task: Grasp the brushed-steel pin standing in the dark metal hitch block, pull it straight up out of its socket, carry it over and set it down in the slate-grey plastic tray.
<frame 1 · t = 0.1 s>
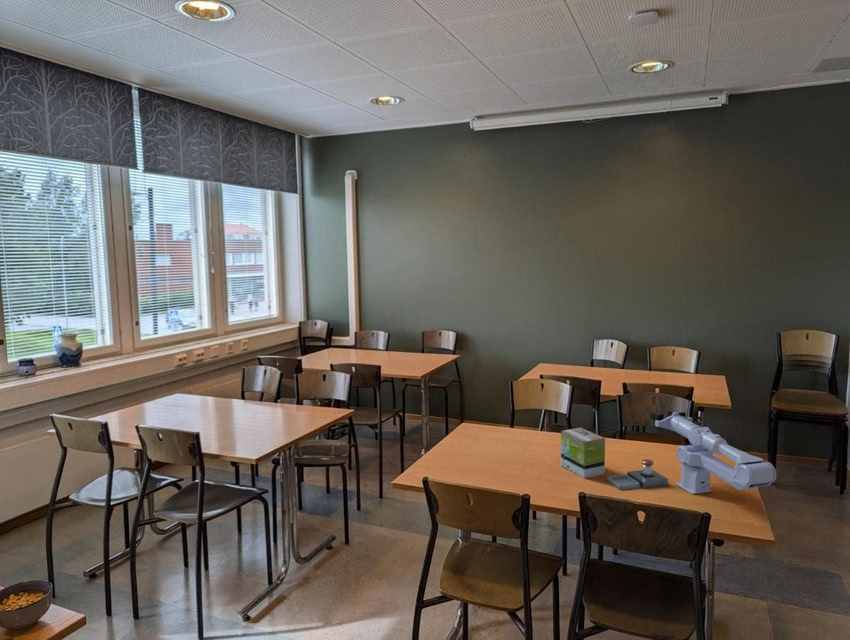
hand: (659, 414, 225), 22 cm above the table, tool horizontal, fingers open, 7 cm apart
pin: (647, 471, 214), in the hitch block
tray: (623, 484, 213), on the table
tea box: (582, 470, 227), on the table
hitch block: (647, 481, 215), on the table
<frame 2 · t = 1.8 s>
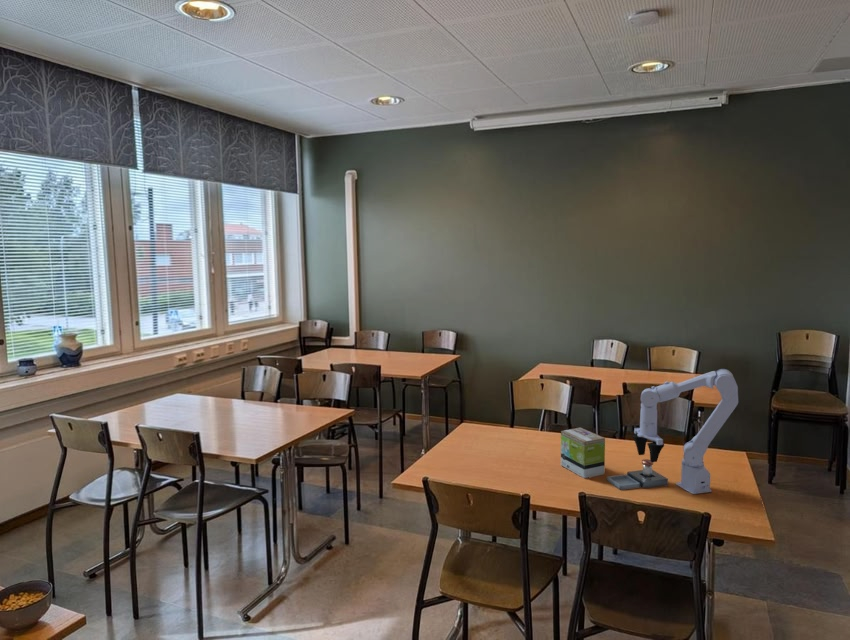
hand: (647, 458, 214), 9 cm above the table, tool pointing down, fingers open, 7 cm apart
nothing on the table moved.
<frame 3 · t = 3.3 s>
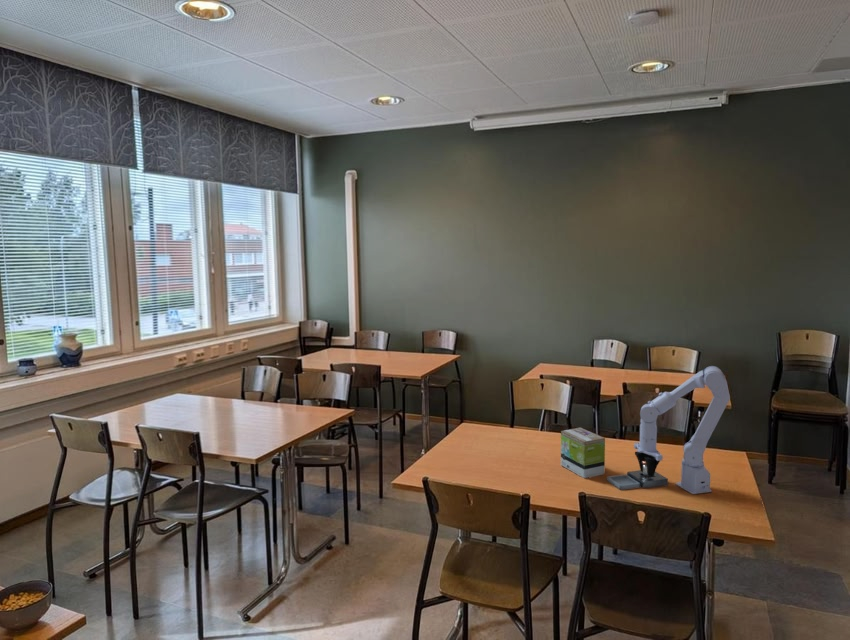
hand: (647, 473, 214), 3 cm above the table, tool pointing down, fingers closed on pin, 4 cm apart
pin: (647, 471, 214), in the hitch block, touching gripper
everything else where it was.
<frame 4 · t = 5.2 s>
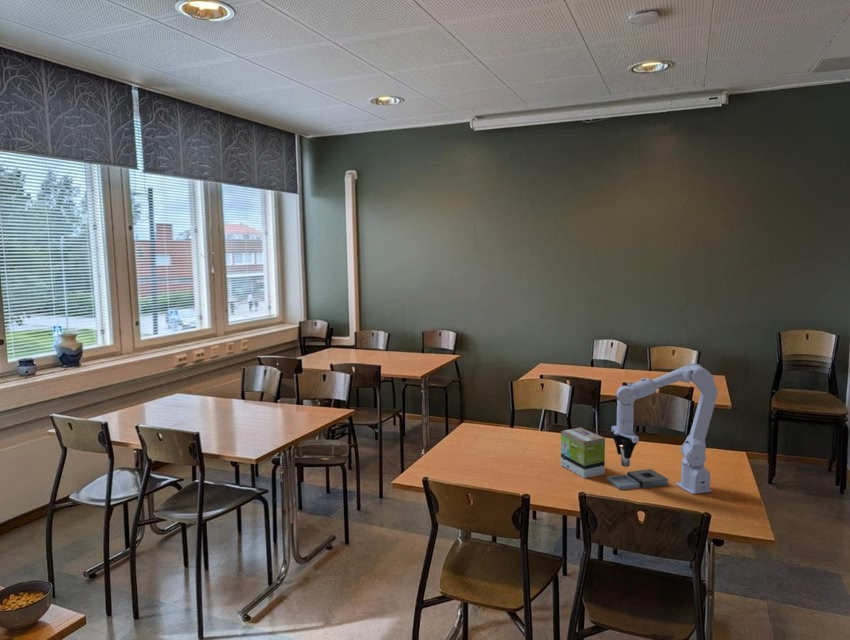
hand: (624, 456, 212), 10 cm above the table, tool pointing down, fingers closed on pin, 4 cm apart
pin: (625, 454, 212), point 11 cm above the table, tilted 5°, touching gripper
everything else where it was.
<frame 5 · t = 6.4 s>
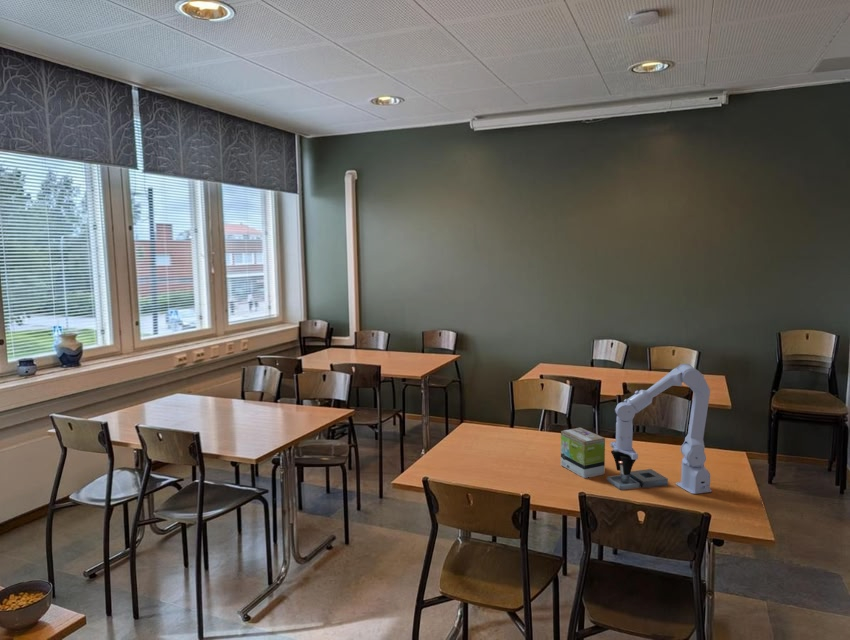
hand: (623, 472, 213), 4 cm above the table, tool pointing down, fingers closed on pin, 4 cm apart
pin: (624, 471, 213), point 5 cm above the table, tilted 5°, touching gripper
everything else where it was.
when the fingers open (4 cm above the table, at t = 7.2 s): pin stays where it is, resting on tray.
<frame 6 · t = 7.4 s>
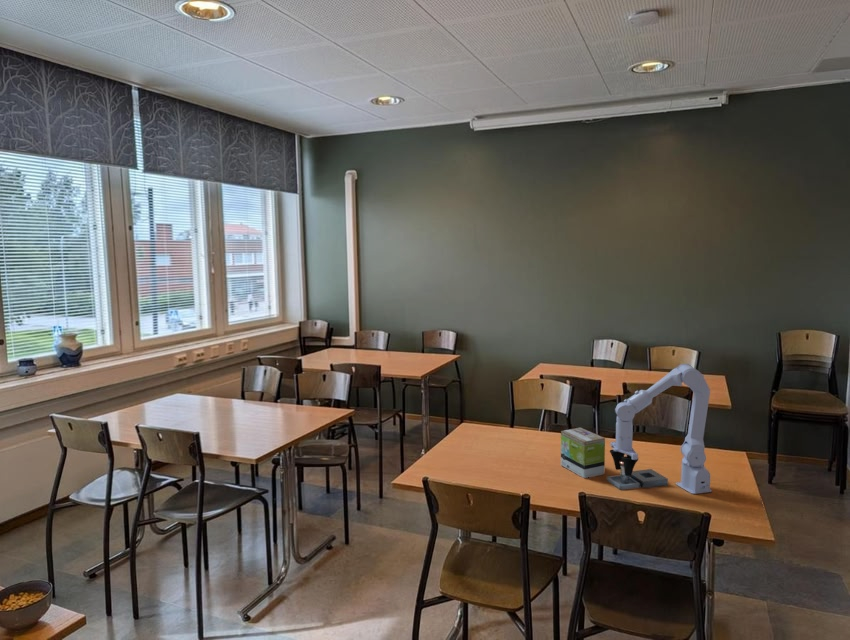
hand: (623, 472, 213), 4 cm above the table, tool pointing down, fingers open, 6 cm apart
pin: (624, 471, 213), in the tray
everything else where it was.
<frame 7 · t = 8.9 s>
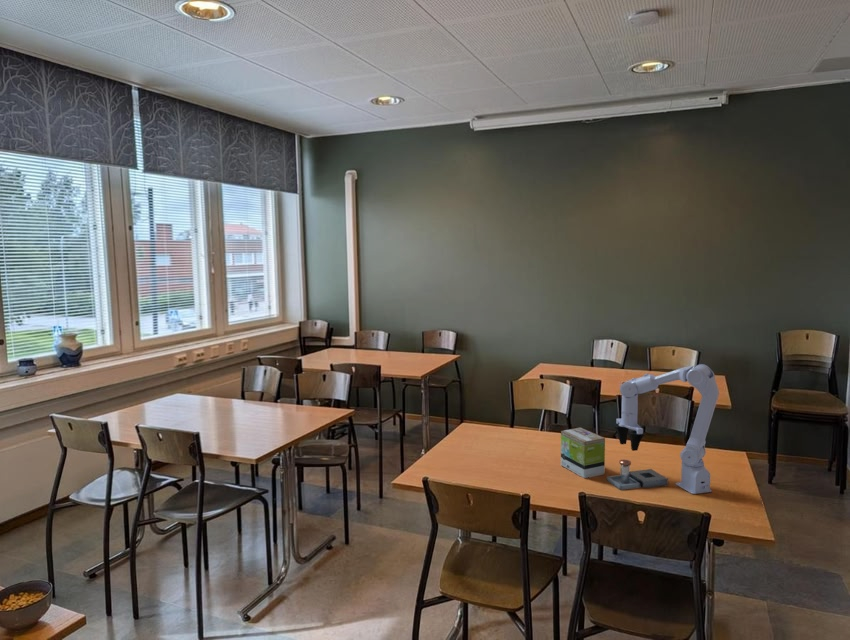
hand: (628, 447, 222), 10 cm above the table, tool pointing down, fingers open, 7 cm apart
nothing on the table moved.
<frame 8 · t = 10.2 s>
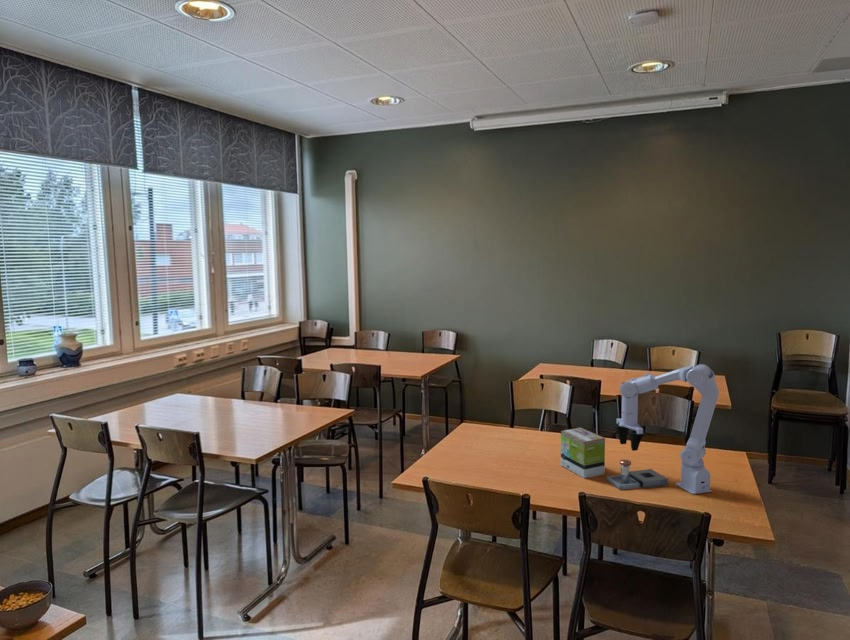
hand: (628, 447, 222), 10 cm above the table, tool pointing down, fingers open, 7 cm apart
nothing on the table moved.
at the end: pin inside the target area on the tray (0.8 cm from its centre), point 4.4 cm above the tray's base; the gripper is holding nothing; pin touching tray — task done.
